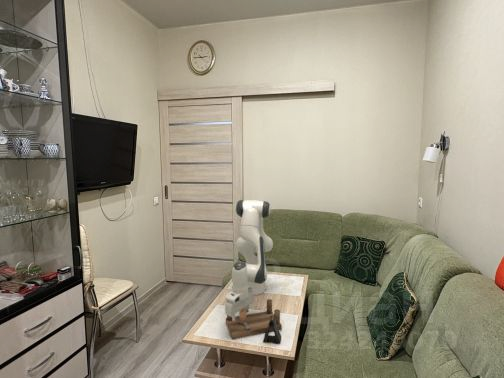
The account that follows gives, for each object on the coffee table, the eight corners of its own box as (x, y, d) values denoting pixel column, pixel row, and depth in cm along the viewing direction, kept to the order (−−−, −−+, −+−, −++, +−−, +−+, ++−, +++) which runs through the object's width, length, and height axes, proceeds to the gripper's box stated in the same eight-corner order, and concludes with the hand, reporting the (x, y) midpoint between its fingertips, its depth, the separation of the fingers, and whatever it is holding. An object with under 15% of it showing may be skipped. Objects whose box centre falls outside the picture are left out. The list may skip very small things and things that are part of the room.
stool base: (225, 322, 175) (225, 305, 173) (271, 314, 183) (271, 298, 181) (232, 339, 160) (232, 320, 158) (281, 330, 168) (281, 312, 166)
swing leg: (251, 328, 163) (251, 315, 162) (244, 330, 162) (244, 317, 161) (244, 319, 173) (244, 306, 172) (238, 320, 171) (238, 308, 170)
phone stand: (262, 342, 157) (262, 320, 156) (264, 335, 163) (264, 314, 161) (280, 344, 155) (280, 322, 154) (281, 337, 161) (281, 316, 160)
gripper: (248, 284, 175) (248, 306, 177) (222, 298, 160) (223, 322, 162) (256, 287, 171) (256, 310, 173) (231, 301, 156) (232, 326, 158)
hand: (240, 316), depth 167 cm, fingers open, 8 cm apart
